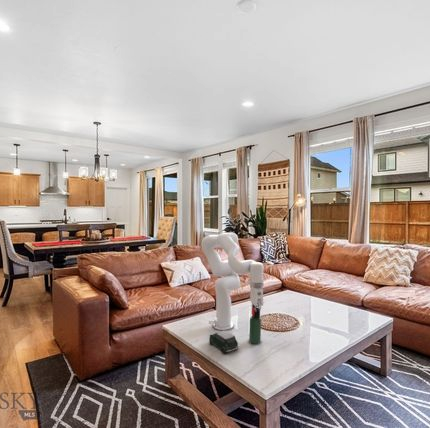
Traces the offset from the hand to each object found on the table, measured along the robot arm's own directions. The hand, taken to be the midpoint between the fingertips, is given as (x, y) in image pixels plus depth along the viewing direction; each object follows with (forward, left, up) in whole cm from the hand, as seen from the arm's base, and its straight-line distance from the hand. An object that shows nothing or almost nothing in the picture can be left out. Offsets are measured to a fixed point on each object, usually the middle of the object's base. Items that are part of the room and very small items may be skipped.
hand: (255, 315), depth 168 cm
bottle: (0, 0, -14) cm, 14 cm away
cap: (0, 0, +1) cm, 1 cm away
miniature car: (-19, 0, -15) cm, 24 cm away
